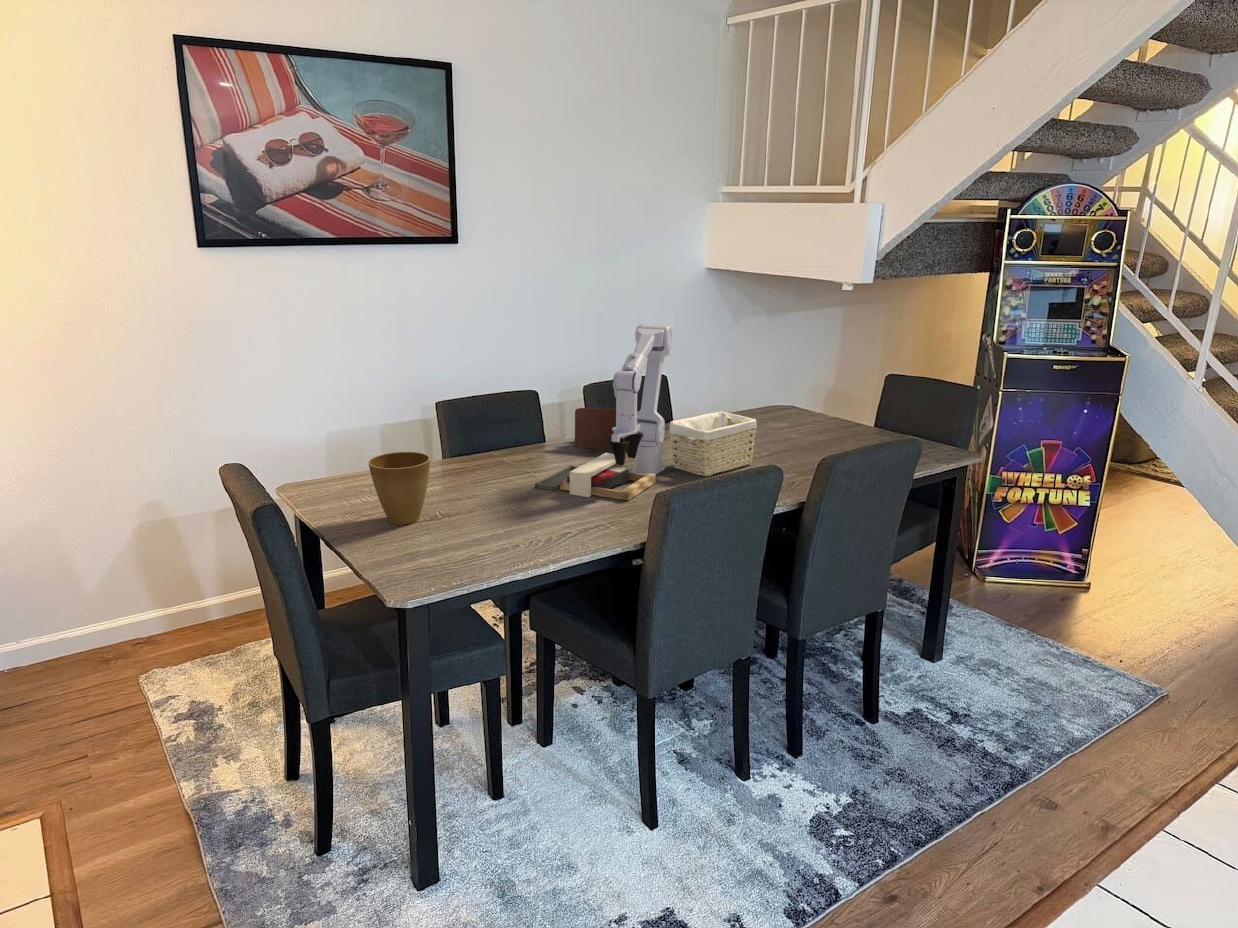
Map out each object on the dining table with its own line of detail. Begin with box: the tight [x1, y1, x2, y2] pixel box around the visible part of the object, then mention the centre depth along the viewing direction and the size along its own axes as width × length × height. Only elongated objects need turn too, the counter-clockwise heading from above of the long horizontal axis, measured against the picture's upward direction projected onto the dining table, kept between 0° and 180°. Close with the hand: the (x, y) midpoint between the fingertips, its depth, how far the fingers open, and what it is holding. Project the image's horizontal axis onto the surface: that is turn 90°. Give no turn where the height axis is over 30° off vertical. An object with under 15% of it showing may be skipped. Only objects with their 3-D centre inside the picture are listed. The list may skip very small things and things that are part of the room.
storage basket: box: [669, 410, 757, 477], centre depth 269 cm, size 24×16×15 cm
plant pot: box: [368, 451, 431, 526], centre depth 219 cm, size 15×15×16 cm
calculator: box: [567, 466, 629, 489], centre depth 251 cm, size 11×4×15 cm
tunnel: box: [534, 452, 625, 498], centre depth 253 cm, size 22×18×6 cm
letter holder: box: [574, 406, 627, 453], centre depth 291 cm, size 10×20×14 cm, turn 73°
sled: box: [559, 471, 657, 501], centre depth 249 cm, size 18×21×2 cm
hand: (625, 461), depth 245 cm, fingers open, 7 cm apart
